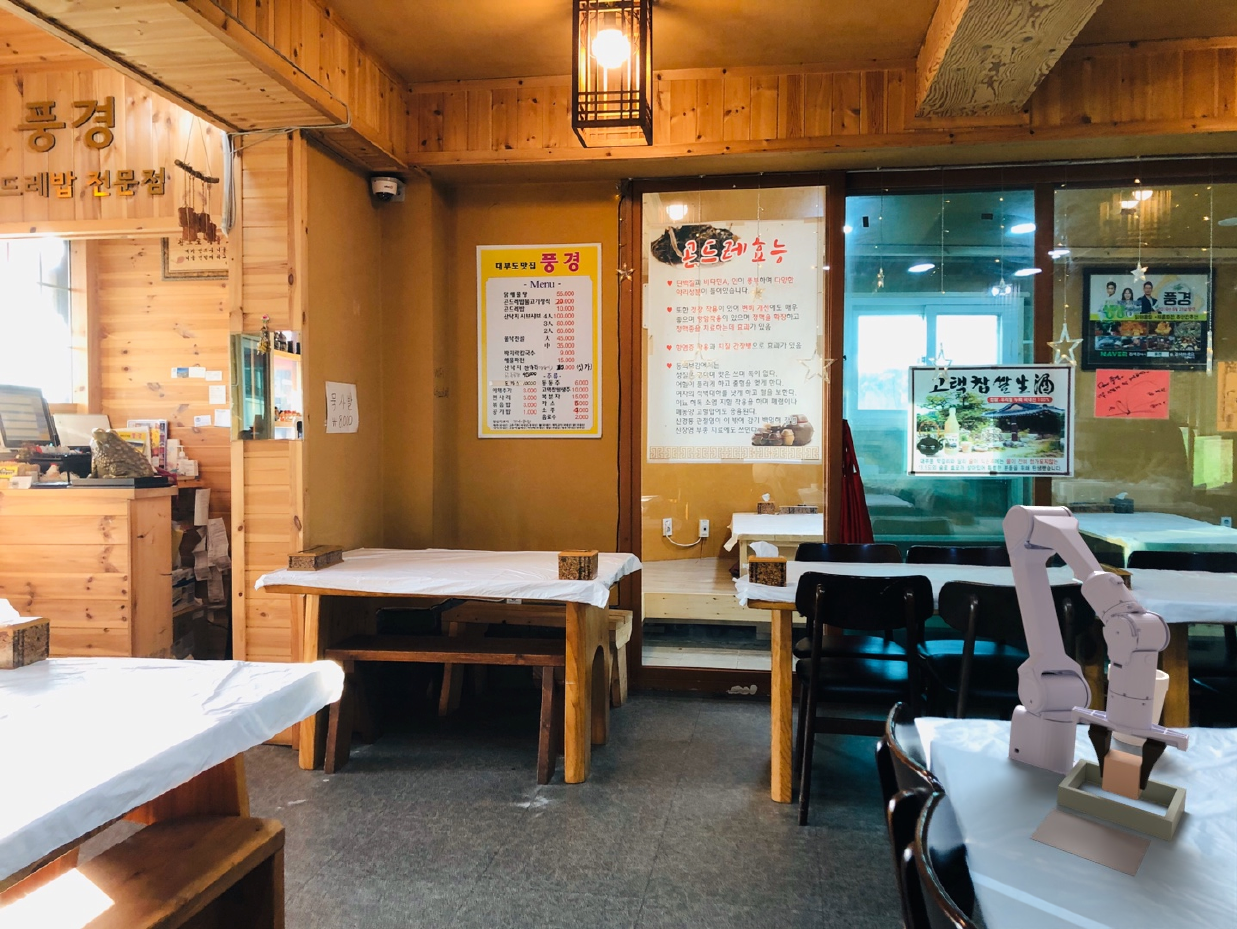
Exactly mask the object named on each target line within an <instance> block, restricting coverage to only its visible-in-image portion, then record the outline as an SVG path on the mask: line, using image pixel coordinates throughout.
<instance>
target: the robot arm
mask: <svg viewBox="0 0 1237 929" xmlns="http://www.w3.org/2000/svg"><path fill="white" fill-rule="evenodd" d="M1001 524H1002V525H1001V526H1002V529H1003V535H1004V540H1005V544H1006V549H1007V554H1008V555H1009V562H1010V567H1011V572H1012V577H1013V581H1014V587H1015V592H1016V595H1017V601H1018V606H1019V610H1020V614H1021V620H1022V625H1023V629H1024V635H1025V639H1026V645H1027V650H1028V653H1029V657H1028V658H1027V659H1026V660H1025V661H1024V662H1023V663H1022V664H1021V665H1020V666H1019V667H1018V668H1017V673H1018V688H1017V689H1018V690H1017V693H1018V698H1019V700H1020V702H1021V704H1022V705H1021V704H1018V705H1016V706H1015V708H1014V710H1013V713H1012V716H1011V717H1012V718H1011V721H1010V722H1011V723H1010V733H1009V742H1008V743H1009V744H1008V756H1007V758H1009V759H1012V760H1015V761H1018V762H1021V763H1023V764H1024V763H1025V764H1028V765H1031V766H1034V767H1038V768H1041V769H1043V770H1048V771H1050V772H1054V773H1057V774H1060V775H1062V776H1063V775H1064V776H1065V777H1066V776H1067V775H1068V773H1069V772H1070V771H1071V770H1072V768H1073V767H1074V766H1075V765H1076V764H1077V762H1078V761H1077V760H1075V749H1076V741H1077V740H1076V736H1077V727H1078V726H1077V725H1078V724H1080V723H1082V724H1085V725H1089V728H1088V730H1087V735H1088V738H1089V740H1090V742H1091V744H1092V746H1093V749H1094V751H1095V755H1096V758H1097V763H1099V767H1100V777H1102V778H1103V771H1104V759H1105V756H1106V755H1107V753H1108V752H1109V750H1110V749H1111V744H1112V738H1113V733H1112V731H1115V732H1119V733H1123V734H1127V735H1130V736H1134V737H1138V738H1142V739H1146V741H1145V742H1144V744H1143V746H1141V747H1142V748H1141V750H1142V751H1141V753H1142V754H1141V755H1142V756H1141V757H1142V769H1141V775H1140V789H1141V790H1145V789H1146V787H1147V783H1148V779H1149V778H1150V775H1151V773H1152V770H1153V769H1154V766H1155V764H1157V761H1158V760H1159V759H1160V758H1161V757H1162V755H1163V754H1164V752H1165V750H1166V748H1167V747H1173V748H1175V749H1176V750H1177V751H1182V752H1187V750H1188V748H1189V740H1190V734H1186V733H1184V732H1183V733H1182V732H1179V731H1176V730H1174V729H1170V728H1168V727H1165V726H1161V725H1159V724H1158V725H1156V724H1153V723H1152V715H1153V704H1154V693H1155V682H1156V671H1157V670H1158V661H1159V660H1158V659H1159V652H1162V651H1164V650H1165V649H1166V648H1167V647H1168V645H1169V644H1170V639H1171V632H1170V628H1169V626H1168V624H1167V622H1166V620H1165V619H1164V617H1163V615H1161V614H1159V613H1157V612H1155V611H1150V610H1149V609H1148V608H1147V607H1144V606H1143V605H1142V604H1141V603H1140V602H1139V601H1138V600H1137V598H1136V597H1135V596H1134V595H1133V593H1132V592H1131V590H1130V589H1128V587H1127V586H1126V585H1125V584H1124V583H1125V580H1124V579H1123V578H1122V577H1121V575H1117V574H1116V573H1114V572H1109V571H1104V569H1103V568H1102V566H1101V565H1100V563H1099V562H1098V560H1097V558H1096V557H1095V555H1094V553H1092V551H1091V550H1090V548H1089V546H1088V544H1086V541H1084V539H1083V537H1082V536H1081V534H1080V533H1079V529H1080V521H1079V520H1078V519H1077V518H1076V517H1075V516H1074V514H1073V512H1072V511H1071V509H1069V508H1068V507H1066V506H1062V505H1057V506H1039V505H1038V506H1035V505H1033V506H1032V505H1027V506H1026V505H1020V504H1016V505H1013V506H1011V507H1010V508H1009V510H1008V511H1007V513H1006V514H1005V517H1004V519H1003V520H1002V523H1001ZM1056 553H1057V554H1058V555H1059V556H1060V558H1061V559H1062V560H1063V561H1064V562H1065V563H1066V565H1067V566H1068V567H1069V568H1070V569H1071V571H1072V572H1073V573H1074V574H1075V575H1076V576H1077V577H1078V578H1079V579H1080V580H1081V582H1082V585H1081V588H1080V592H1081V595H1082V596H1083V598H1085V600H1086V601H1087V602H1088V604H1089V605H1090V606H1091V609H1092V610H1094V612H1095V613H1096V615H1097V617H1099V619H1100V620H1101V621H1102V623H1103V625H1104V626H1103V627H1102V634H1103V638H1104V640H1105V643H1106V646H1107V656H1108V660H1110V663H1109V664H1110V676H1109V680H1108V688H1107V698H1106V700H1107V701H1106V709H1105V710H1106V711H1102V710H1095V709H1090V705H1091V702H1092V691H1091V688H1090V685H1089V683H1088V682H1087V680H1086V678H1085V677H1084V675H1083V671H1082V666H1081V665H1080V664H1079V663H1078V662H1077V661H1075V660H1074V659H1072V658H1071V657H1070V656H1068V654H1066V651H1065V647H1064V642H1063V637H1062V634H1061V629H1060V625H1059V620H1058V616H1057V612H1056V607H1055V601H1054V597H1053V594H1052V590H1051V589H1052V588H1051V584H1050V580H1049V576H1048V571H1047V566H1046V563H1047V561H1048V560H1049V558H1050V557H1052V556H1054V555H1055V554H1056ZM1042 673H1052V674H1042ZM1053 673H1054V674H1053Z"/></svg>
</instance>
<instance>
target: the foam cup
mask: <svg viewBox="0 0 1237 929" xmlns="http://www.w3.org/2000/svg"><path fill="white" fill-rule="evenodd" d="M1110 664H1111V663H1109V664H1108V668H1107V680H1108V681H1109V676H1110ZM1169 684H1170V676H1169V674H1168V673H1166V672H1165V671H1163V670H1160V669H1157V671H1156V682H1155V693H1154V704H1153V715H1152V723H1153V724H1156V725H1159V722H1160V718H1161V714H1162V710H1163V706H1164V702H1165V698H1166V694H1167V692H1168V691H1169ZM1112 738H1114V739H1116V740H1117V741H1119V742H1122V743H1124V744H1127V745H1131V746H1134V747H1136V746H1137V747H1142V746H1143V744H1144V742H1145V741H1146V739H1142V738H1138V737H1134V736H1130V735H1127V734H1123V733H1119V732H1115V731H1112Z"/></svg>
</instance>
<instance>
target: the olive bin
mask: <svg viewBox="0 0 1237 929" xmlns="http://www.w3.org/2000/svg"><path fill="white" fill-rule="evenodd" d="M1083 782H1086V783H1090V784H1091V785H1092V784H1093V785H1096V786H1099V787H1102V783H1103V778H1102V777H1100V767H1099V762H1094V761H1091V760H1087V759H1084V758H1080V759H1079V760H1078V761H1077V764H1076V765H1075V766H1074V767H1073V768H1072V770H1071V771H1070V772H1069V773H1068V775H1067V776H1066V775H1065V777H1064V779H1062V781H1060V783H1059V784H1058V786H1057V795H1056V796H1057V797H1056V798H1057V799H1056V804H1057V805H1059V806H1063V807H1066V808H1069V809H1072V810H1074V811H1076V812H1077V811H1078V812H1081V813H1084V814H1087V815H1090V816H1092V817H1096V818H1098V819H1102V820H1105V821H1108V822H1111V823H1113V824H1117V825H1120V826H1122V827H1125V828H1129V829H1132V830H1136V831H1138V832H1140V833H1144V834H1147V835H1150V836H1153V837H1156V838H1159V839H1161V840H1165V841H1169V842H1171V841H1172V839H1173V837H1174V834H1175V832H1176V829H1177V827H1178V824H1179V823H1180V820H1181V818H1182V815H1183V813H1184V812H1185V808H1186V799H1187V788H1183V787H1180V786H1177V785H1173V784H1170V783H1166V782H1163V781H1160V780H1157V779H1153V778H1150V777H1149V779H1148V783H1147V787H1146V789H1145V790H1142V792H1141V794H1140V796H1139V797H1138V799H1142V800H1145V801H1148V802H1151V803H1154V804H1157V805H1161V806H1165V807H1168V808H1167V811H1166V813H1165V815H1160V814H1157V813H1154V812H1151V811H1147V810H1144V809H1142V808H1137V807H1135V806H1132V805H1128V804H1126V803H1122V802H1119V801H1117V800H1116V801H1115V800H1113V799H1109V798H1107V797H1103V796H1100V795H1097V794H1095V793H1094V794H1093V793H1090V792H1088V791H1084V790H1081V789H1079V787H1080V786H1081V785H1082V783H1083Z"/></svg>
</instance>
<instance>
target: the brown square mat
mask: <svg viewBox="0 0 1237 929" xmlns="http://www.w3.org/2000/svg"><path fill="white" fill-rule="evenodd" d="M1029 839H1031V840H1033V841H1037V842H1039V843H1042V844H1044V845H1047V846H1050V847H1053V848H1055V849H1057V850H1061V851H1063V852H1066V853H1069V854H1072V855H1074V856H1077V857H1079V858H1083V859H1085V860H1088V861H1091V862H1093V863H1095V864H1096V863H1097V864H1099V865H1102V866H1104V867H1107V868H1109V869H1112V870H1115V871H1117V872H1118V871H1119V872H1121V873H1123V874H1127V875H1129V876H1131V877H1135V875H1136V873H1137V871H1138V869H1139V867H1140V865H1141V863H1142V861H1143V858H1144V856H1145V854H1146V852H1147V850H1148V847H1149V845H1150V843H1151V840H1150V839H1146V838H1144V837H1141V836H1137V835H1135V834H1132V833H1130V832H1126V831H1123V830H1119V829H1116V828H1114V827H1111V826H1108V825H1105V824H1103V823H1099V822H1096V821H1094V820H1091V819H1087V818H1085V817H1081V816H1079V815H1075V814H1072V813H1069V812H1067V811H1064V810H1061V809H1057V808H1055V807H1053V808H1052V809H1051V810H1050V811H1049V813H1048V814H1047V816H1046V817H1045V818H1044V819H1043V821H1042V822H1041V823H1040V824H1039V825H1038V827H1037V828H1036V830H1035V831H1034V832H1033V833H1032V835H1031V836H1030V837H1029Z"/></svg>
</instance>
